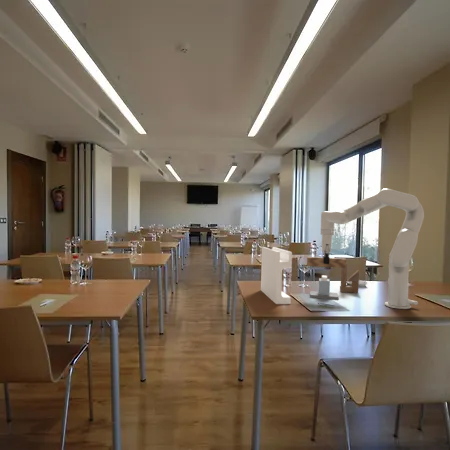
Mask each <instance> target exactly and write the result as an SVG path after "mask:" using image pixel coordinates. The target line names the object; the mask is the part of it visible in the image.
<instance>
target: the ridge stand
mask: <svg viewBox="0 0 450 450" xmlns="http://www.w3.org/2000/svg"><path fill="white" fill-rule="evenodd" d="M330 280H331V279H330V278H328V275H324V274H323V275H321V278H320V277H319V278H318V291H314V290H310V292H309V298H311V299H312V298H314V299H325V300H335V301H336V300H340V299H339V294H338V292H332V291H331V292H330V290H331V289H330V288H331V287H330V286H331V283H330V282H331V281H330Z"/></svg>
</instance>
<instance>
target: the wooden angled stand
mask: <svg viewBox="0 0 450 450" xmlns="http://www.w3.org/2000/svg"><path fill="white" fill-rule="evenodd" d="M359 277H360V270H359V269H357V270H356V271H355V272H353V274H351V275H350V276H348V264H347V263H346V268H340V285H339V291H340V293H353V294H358V293H359V286H360V285H359V282H360V278H359ZM347 282H351V285H348V283H347Z"/></svg>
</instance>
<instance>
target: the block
mask: <svg viewBox="0 0 450 450" xmlns="http://www.w3.org/2000/svg"><path fill="white" fill-rule="evenodd" d="M292 264H293V252H292V251H290V250H286V249H283V248H279V247H276V246H272V247H271V248H269V247H265V246H261V269H260V270H261V272H260V273H261V274H260V276H261V277H260V291H261V292H262V293H263V294H264V295H266V296H267V298H268V299H270V300H271V301H272V302H273V303H274V304H276V305H291V301H292V300H291V299H292V297H291V296H290V295H288V294H286V293H285V292H284V291H282V289H283V288H282V287H283V270H285V269H293V267H292Z"/></svg>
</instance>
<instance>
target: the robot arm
mask: <svg viewBox="0 0 450 450" xmlns="http://www.w3.org/2000/svg"><path fill="white" fill-rule="evenodd" d="M388 206H389V207H393V208H397V209H398V210H399V209H400V210H403V211H404V212H405V218H404V220H403V223H402V225H401V228H400V229H399V232H398V233H397V236H396V238H395V240H394V244H393V246H392V249H391V251H390V252H389V255H388V285H387V286H388V287H387V288H388V291H387V301H385V302H384V306H386V307H388V308H393V309H397V310H409V309H411V308H412V305H414V306H416V305H419V302H418V301H417V300H411V299H409V298H408V297H409V275H410V274H409V273H410V272H409V271H410V270H409V269H410V261H411V259H412V256H413V254H414V252H415V249H416V247H417V244H418V240H419V238H418V237H419V236H418V235H419V233H420V230H421V229H422V228H421V227H422V224H423V222H424V219H425V211H424V208H423V205H422V204H421V202H419V199H418V197H417V196H416V195H413V194H411V193H408V192H407V193H406V192H402V191H399V190H396V189H395V190H394V189H392V188H383V189H381V190H380V191H378V192H376V193H375V194H373V195H370V196H368V197H366V198H363V199H361V200H360V201H358V202H357V203H356V204H355V205H353V206H351V207H349V208H347V209H344V210H337V211H329V210H325V211H324V210H323V211H322V212H321V213H320V235H322V236H321V249H320V250H321V252H323V257H324V264H329V258H330V252H331V250H332V239H333V238H332V237H333V236H334V235H335V224H336V225H346V224H348V223H351V222H352V221H355V220H357V219H359V218H361V217H364V216H367V215H368V214H369V215H370V214H371V213H373V212H375V211H378V210H380V209H382V208H383V209H384V208H385V207H388Z"/></svg>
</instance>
